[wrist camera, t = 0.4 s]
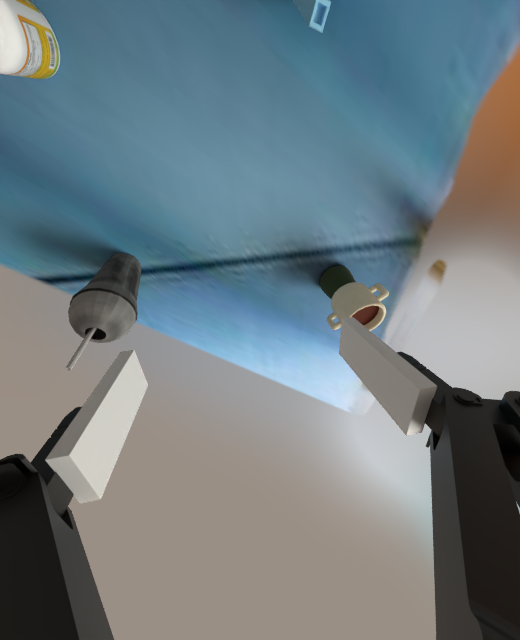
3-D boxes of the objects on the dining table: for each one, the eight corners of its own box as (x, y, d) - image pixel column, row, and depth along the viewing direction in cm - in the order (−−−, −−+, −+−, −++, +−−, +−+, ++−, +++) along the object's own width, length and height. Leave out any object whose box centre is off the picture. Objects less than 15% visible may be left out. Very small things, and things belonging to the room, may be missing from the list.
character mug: (319, 302, 51) (345, 346, 42) (302, 284, 47) (327, 329, 38) (363, 270, 48) (403, 311, 38) (349, 247, 43) (390, 287, 34)
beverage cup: (157, 280, 40) (134, 379, 26) (113, 287, 40) (66, 392, 25) (139, 241, 35) (98, 336, 21) (89, 248, 35) (12, 351, 20)
